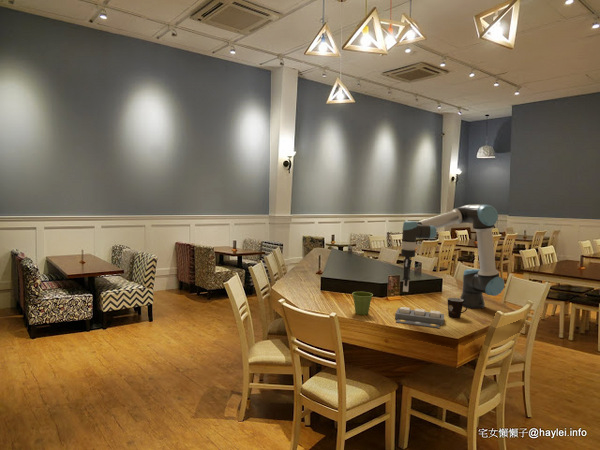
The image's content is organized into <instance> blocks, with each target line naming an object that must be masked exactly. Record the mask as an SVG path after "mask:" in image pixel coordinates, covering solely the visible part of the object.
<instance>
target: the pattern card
mask: <svg viewBox="0 0 600 450" xmlns="http://www.w3.org/2000/svg"><path fill="white" fill-rule="evenodd" d="M395 322H396V324H402V325H403V324H405V325H412V326H418V327H424V328H425V327H426V328H432V329H440V328H439V327H440V326H441V325H440V324H433V323H426V322H419V321H411V320H404V319H396V321H395Z"/></svg>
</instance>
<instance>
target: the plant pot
mask: <svg viewBox="0 0 600 450" xmlns="http://www.w3.org/2000/svg"><path fill="white" fill-rule="evenodd" d="M351 295H352V297H353V303H354V312H355V314H356V315H359V316H360V315H361V316H362V315H363V316H366V315H369V312H370V307H371V301H372V298H373V296H374V294H373V293H372V292H367V291H354V292H352V293H351Z"/></svg>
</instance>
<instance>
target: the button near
mask: <svg viewBox="0 0 600 450" xmlns="http://www.w3.org/2000/svg"><path fill="white" fill-rule="evenodd" d="M429 312H430V317H437V318H440V314H441V311H438V310H430V311H429Z"/></svg>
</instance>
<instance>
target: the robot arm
mask: <svg viewBox="0 0 600 450" xmlns="http://www.w3.org/2000/svg"><path fill="white" fill-rule="evenodd" d="M498 213H499V212H498V210H497V209H496V208H495V207H494V206H492V205H490V204H477V203H476V204H475V203H470V204H465V205H462V206H459V207H455V208H453V209H452V210H451V211H448V212H445V213H441V214H439V215H435V216H432V217H428V218H425V219H422V220H419V221H414V220H413V221H412V220H405V221H404V222H403V224H402V237H401V242H400V245H401V250H400V255H401V257H404V259H403V278H402V280H403V282H402V283H403V285H402V292H404V293H405V292H407V293H408V292H409V287H410V286H409V284H410V281H411V278H410V277H411V275H410V274H411V267H412V260H413V259H411V258H414V257H416V248H417V240H418V239H424V240H425V239H426V240H427V239H428V240H433V239H435V237H436V236H437V233H438V231H437V229H441V228H445V227H448V226H452V225H454V224H455V225H459V224H472V229H473V230H474V231H475V232H476V233H475V235H476V243H477V252H478V261H479V269H478V268H476V269H475V268H474V269H473V268H472V269H471V268H470V269H468V268H467V269H464V271H463V276H462V293H461V294H460V297H459V298H460V299H463V300H464V301H463V304H465V305H466V306H467V309H473V310H474V309H475V310H476V309H478V310H480V309H484V308H485V305H486V304H485V303H486V302H485V301H484V296H483V294H485V295H487V296H493V297H496V296H498V295H501V294H502V292H503V291H504V290H505V289H504V288H505V280H504V278H502V277H500V272H499V270H497V268H496V258H495V257H496V256H495V249H494V238H493V237H494V236H493V230H494V228H495V224H497V222H498V220H499V214H498ZM465 305H463V306H462V308H466V306H465Z"/></svg>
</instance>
